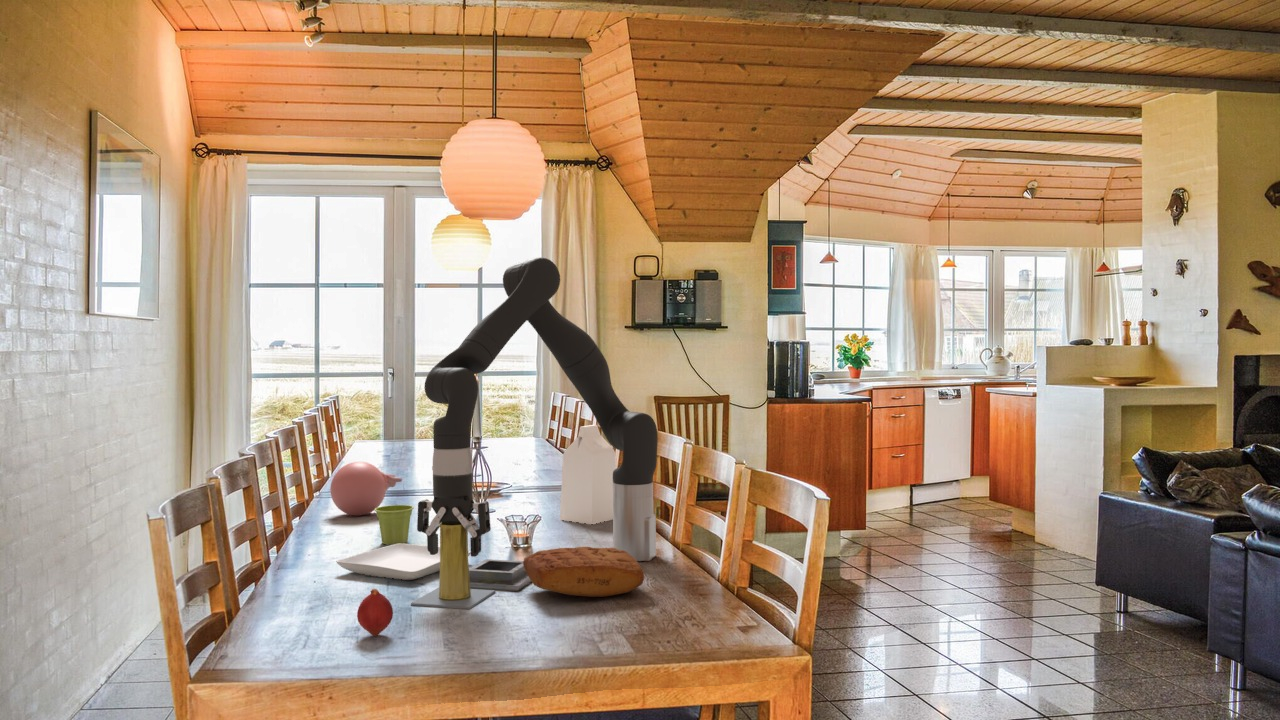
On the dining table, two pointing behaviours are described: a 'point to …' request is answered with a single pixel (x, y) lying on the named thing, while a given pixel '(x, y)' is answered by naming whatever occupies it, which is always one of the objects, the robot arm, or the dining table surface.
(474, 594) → the pad
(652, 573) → the dining table surface
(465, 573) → the vase
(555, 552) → the cuneiform tablet
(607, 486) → the milk
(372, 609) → the onion
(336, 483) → the pink balloon
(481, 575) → the grey square socket base
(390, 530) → the plant pot
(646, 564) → the dining table surface
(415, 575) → the salad plate
